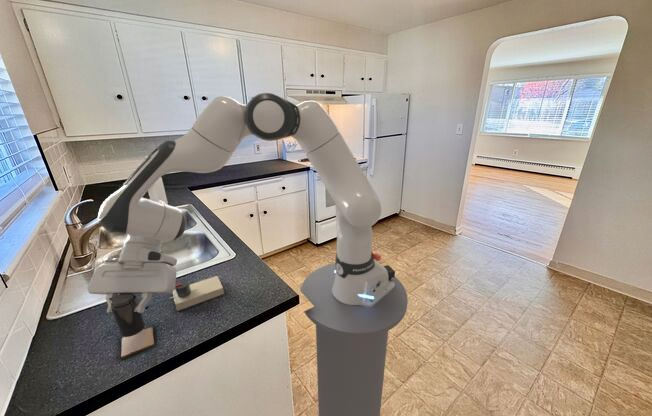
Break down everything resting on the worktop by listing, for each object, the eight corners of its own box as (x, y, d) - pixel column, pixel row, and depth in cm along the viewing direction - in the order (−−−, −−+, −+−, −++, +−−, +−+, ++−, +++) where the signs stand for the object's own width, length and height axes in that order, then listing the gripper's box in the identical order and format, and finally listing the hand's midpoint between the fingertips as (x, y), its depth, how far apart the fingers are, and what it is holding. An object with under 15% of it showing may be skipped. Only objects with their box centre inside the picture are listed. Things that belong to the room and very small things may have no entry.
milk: (161, 211, 159) (152, 174, 150) (152, 210, 159) (143, 174, 151) (169, 207, 164) (160, 172, 156) (160, 206, 165) (151, 171, 157)
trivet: (152, 328, 75) (152, 326, 75) (154, 345, 70) (153, 343, 70) (122, 339, 72) (121, 338, 71) (121, 358, 66) (120, 357, 66)
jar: (144, 318, 72) (134, 288, 69) (145, 331, 68) (134, 299, 65) (121, 326, 70) (109, 296, 66) (120, 340, 66) (108, 308, 62)
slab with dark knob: (218, 281, 95) (216, 275, 94) (224, 294, 88) (223, 287, 87) (170, 297, 87) (168, 291, 86) (173, 312, 81) (171, 305, 80)
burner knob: (190, 287, 88) (188, 278, 86) (191, 294, 84) (189, 284, 83) (176, 292, 86) (174, 282, 84) (177, 299, 82) (175, 289, 81)
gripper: (91, 255, 69) (71, 313, 63) (171, 254, 69) (159, 311, 64) (109, 261, 74) (92, 314, 69) (183, 259, 75) (172, 312, 69)
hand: (125, 312), depth 66 cm, fingers closed on jar, 5 cm apart
